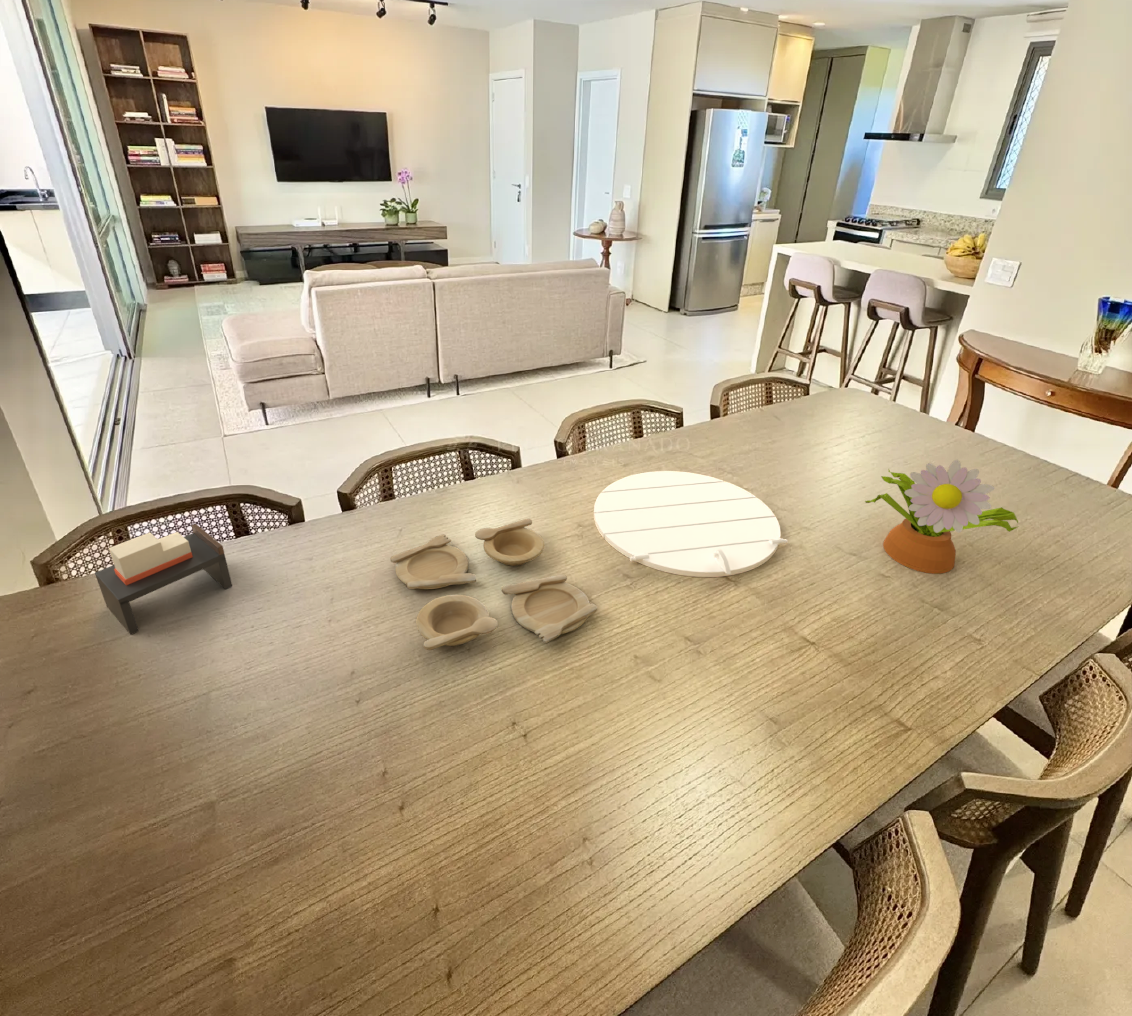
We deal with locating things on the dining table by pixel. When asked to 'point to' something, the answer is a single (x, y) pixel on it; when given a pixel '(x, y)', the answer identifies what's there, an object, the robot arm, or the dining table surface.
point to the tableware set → (533, 606)
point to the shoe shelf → (164, 576)
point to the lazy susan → (687, 524)
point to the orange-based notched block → (148, 555)
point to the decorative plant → (938, 515)
